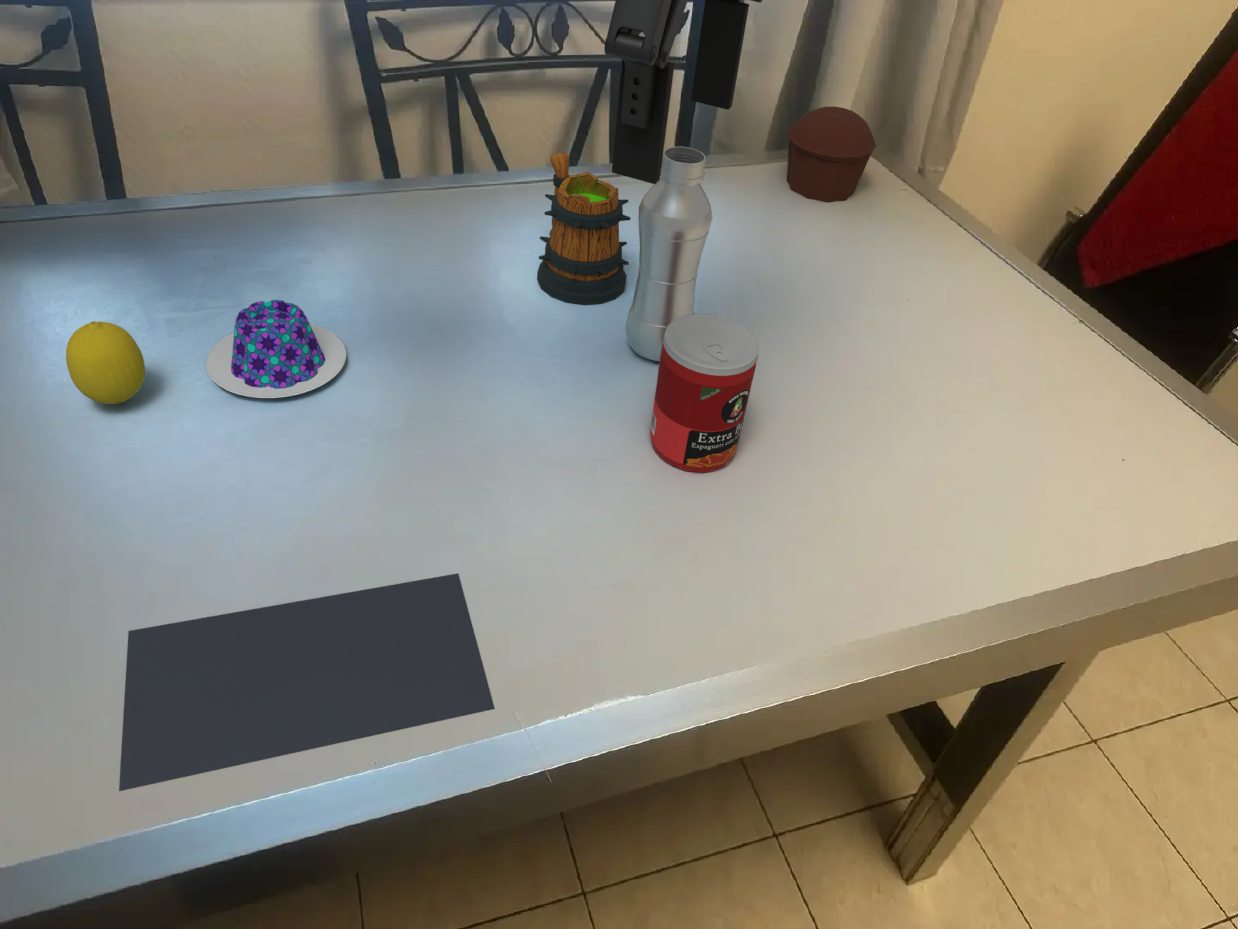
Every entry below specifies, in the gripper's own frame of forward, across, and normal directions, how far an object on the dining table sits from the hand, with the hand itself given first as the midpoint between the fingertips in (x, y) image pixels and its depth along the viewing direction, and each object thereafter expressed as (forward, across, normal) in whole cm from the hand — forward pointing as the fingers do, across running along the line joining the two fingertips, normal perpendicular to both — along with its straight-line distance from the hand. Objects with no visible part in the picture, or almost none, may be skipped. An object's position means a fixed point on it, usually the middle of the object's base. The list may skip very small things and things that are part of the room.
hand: (676, 137), depth 60 cm
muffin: (+29, +66, 0) cm, 72 cm away
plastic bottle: (+29, +19, +5) cm, 36 cm away
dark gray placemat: (+29, -27, +12) cm, 42 cm away
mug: (+29, +28, +18) cm, 45 cm away
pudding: (+29, -1, +34) cm, 45 cm away
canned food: (+29, +7, -3) cm, 31 cm away
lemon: (+29, -12, +42) cm, 53 cm away
